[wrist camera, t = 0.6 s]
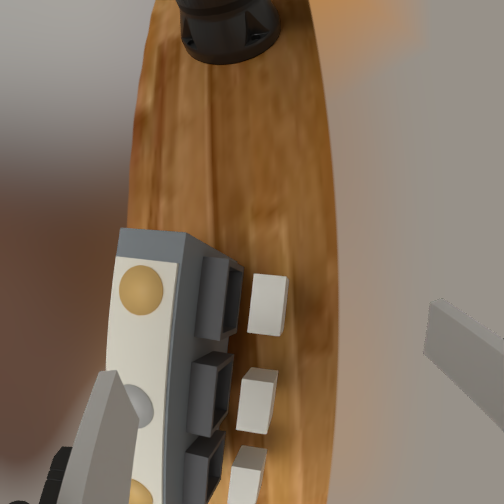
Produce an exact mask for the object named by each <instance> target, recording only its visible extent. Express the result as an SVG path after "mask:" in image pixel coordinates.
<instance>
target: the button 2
mask: <svg viewBox="0 0 504 504" xmlns="http://www.w3.org/2000/svg"><path fill="white" fill-rule="evenodd" d="M288 286H289V279H288V278H287V277H285V276H275V275H265V274H255V273H254V277H253V286H252V295H251V304H250V313H249V322H248V330H247V332H248V333H256V334H264V335H272V336H280V335H281V334H282V332H283V330H284V322H285V313H286V304H287V295H288Z"/></svg>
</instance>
